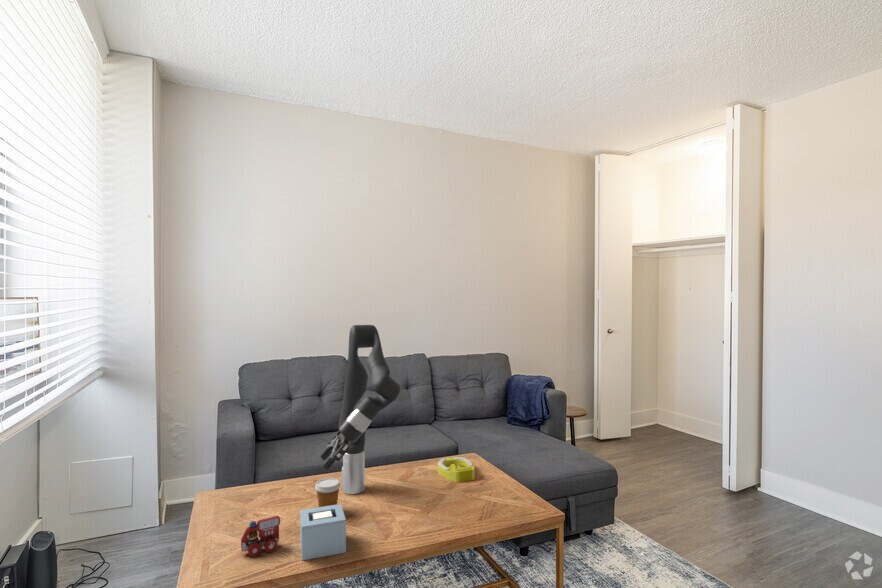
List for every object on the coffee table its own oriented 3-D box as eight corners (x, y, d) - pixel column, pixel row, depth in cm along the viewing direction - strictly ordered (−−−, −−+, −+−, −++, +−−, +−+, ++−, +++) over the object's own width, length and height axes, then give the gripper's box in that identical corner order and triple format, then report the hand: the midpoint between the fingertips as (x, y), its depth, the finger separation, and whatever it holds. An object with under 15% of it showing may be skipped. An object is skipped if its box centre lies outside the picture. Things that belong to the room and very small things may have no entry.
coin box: (302, 560, 153) (301, 526, 153) (300, 541, 164) (300, 510, 164) (345, 552, 158) (345, 519, 157) (341, 534, 169) (341, 503, 169)
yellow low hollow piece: (449, 484, 211) (448, 473, 211) (432, 467, 230) (432, 457, 230) (482, 479, 217) (482, 468, 217) (463, 463, 236) (463, 453, 236)
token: (330, 539, 164) (330, 510, 164) (332, 545, 160) (332, 515, 160) (313, 542, 162) (312, 513, 161) (314, 548, 158) (314, 519, 158)
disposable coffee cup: (327, 521, 178) (327, 489, 178) (310, 514, 183) (309, 484, 183) (345, 511, 186) (345, 480, 186) (328, 505, 191) (327, 475, 191)
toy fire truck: (240, 549, 160) (239, 519, 159) (278, 540, 166) (278, 510, 165) (242, 560, 154) (241, 528, 153) (281, 549, 159) (281, 519, 159)
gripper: (344, 412, 169) (313, 449, 166) (350, 424, 156) (317, 465, 153) (359, 424, 171) (329, 461, 168) (367, 437, 158) (334, 478, 155)
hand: (323, 463), depth 160 cm, fingers open, 8 cm apart
